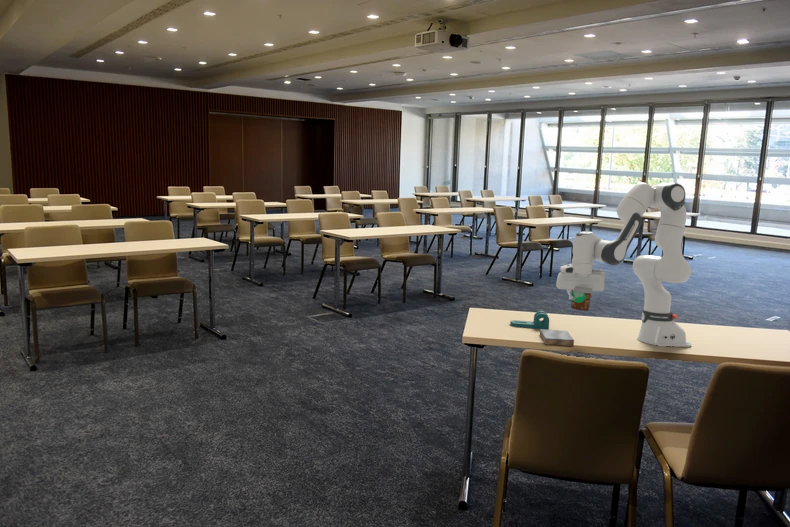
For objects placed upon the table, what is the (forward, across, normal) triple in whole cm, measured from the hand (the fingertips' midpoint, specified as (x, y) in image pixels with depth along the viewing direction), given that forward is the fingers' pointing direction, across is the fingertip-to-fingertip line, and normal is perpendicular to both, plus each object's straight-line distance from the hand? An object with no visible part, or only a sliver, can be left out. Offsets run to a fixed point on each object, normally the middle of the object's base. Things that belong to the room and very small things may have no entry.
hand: (579, 300), depth 266 cm
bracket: (+20, +17, -25) cm, 36 cm away
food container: (+4, +1, 0) cm, 4 cm away
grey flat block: (+19, +8, -1) cm, 21 cm away
